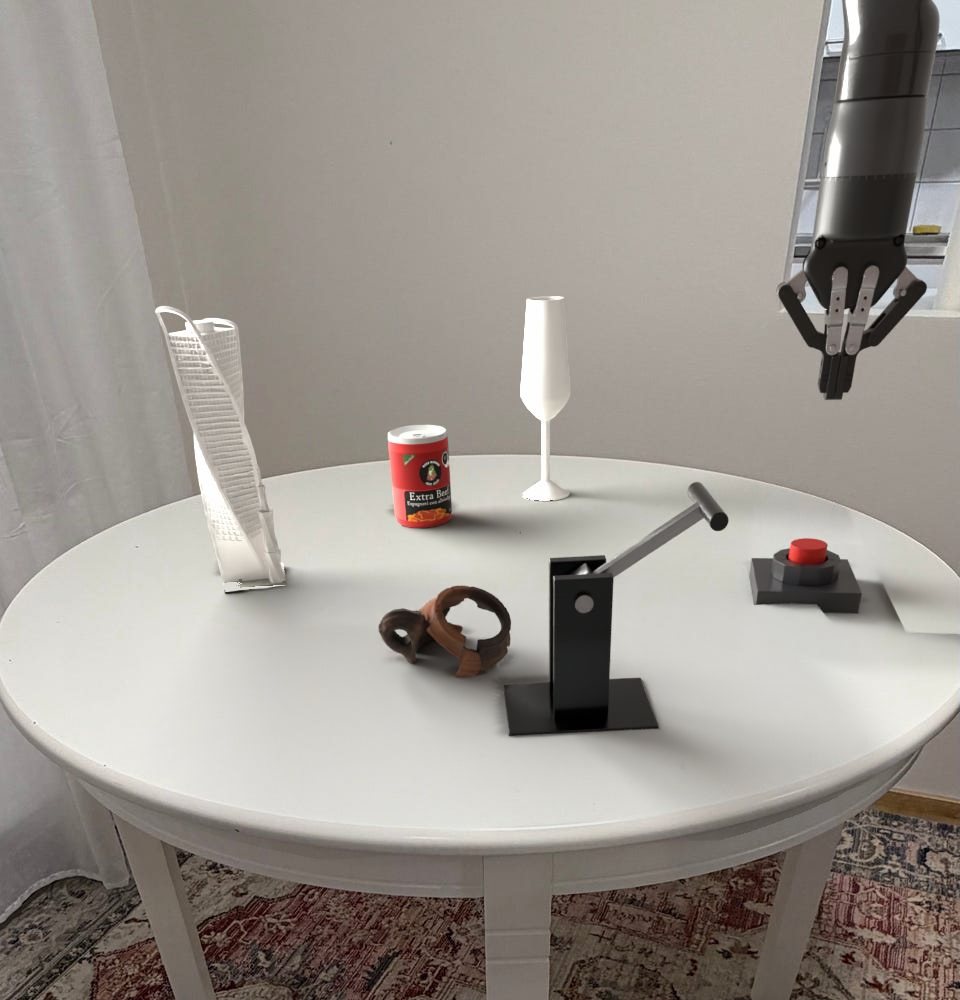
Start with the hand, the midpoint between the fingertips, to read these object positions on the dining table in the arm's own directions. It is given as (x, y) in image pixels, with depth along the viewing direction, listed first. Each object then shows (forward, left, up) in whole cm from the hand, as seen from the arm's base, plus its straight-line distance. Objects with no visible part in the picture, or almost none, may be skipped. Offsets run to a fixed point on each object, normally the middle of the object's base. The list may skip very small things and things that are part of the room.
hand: (832, 398), depth 89 cm
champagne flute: (+31, -37, -19) cm, 52 cm away
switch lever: (+16, +28, -6) cm, 33 cm away
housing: (0, 0, -19) cm, 19 cm away
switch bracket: (+21, +29, -19) cm, 41 cm away
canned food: (+46, -25, -19) cm, 56 cm away
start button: (0, 0, -15) cm, 15 cm away
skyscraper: (+62, -2, -19) cm, 65 cm away
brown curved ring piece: (+34, +20, -19) cm, 44 cm away
